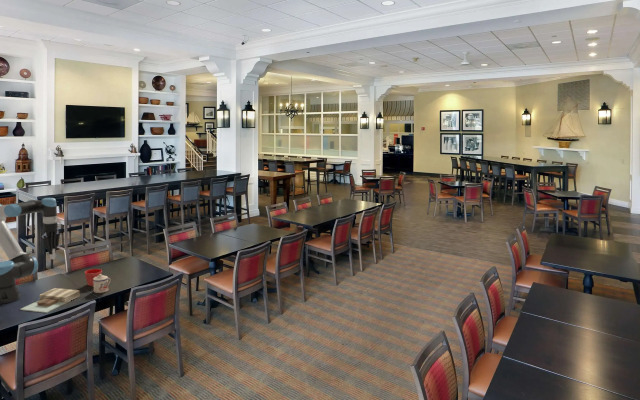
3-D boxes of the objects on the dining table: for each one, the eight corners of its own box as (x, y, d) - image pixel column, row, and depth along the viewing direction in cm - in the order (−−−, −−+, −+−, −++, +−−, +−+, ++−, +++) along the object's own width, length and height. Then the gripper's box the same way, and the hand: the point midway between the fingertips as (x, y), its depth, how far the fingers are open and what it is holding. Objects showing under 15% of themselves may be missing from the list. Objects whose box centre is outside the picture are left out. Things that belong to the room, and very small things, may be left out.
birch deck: (40, 300, 256) (39, 294, 256) (55, 293, 268) (54, 287, 267) (65, 303, 253) (65, 297, 253) (79, 296, 265) (79, 290, 265)
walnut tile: (37, 305, 248) (37, 302, 248) (46, 300, 255) (46, 297, 255) (49, 306, 247) (48, 303, 247) (58, 302, 254) (58, 299, 254)
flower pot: (100, 280, 294) (99, 267, 293) (104, 285, 286) (103, 271, 284) (83, 283, 287) (83, 270, 286) (87, 288, 279) (86, 274, 278)
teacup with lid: (100, 294, 270) (99, 277, 268) (90, 292, 273) (89, 275, 271) (115, 288, 281) (114, 272, 279) (105, 286, 284) (104, 270, 282)
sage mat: (20, 309, 243) (20, 309, 243) (40, 300, 256) (39, 299, 256) (47, 313, 240) (46, 312, 240) (65, 303, 253) (65, 302, 253)
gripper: (46, 225, 250) (48, 262, 253) (63, 221, 262) (66, 256, 266) (36, 224, 251) (38, 261, 255) (54, 220, 264) (56, 255, 267)
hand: (52, 258), depth 260 cm, fingers closed
